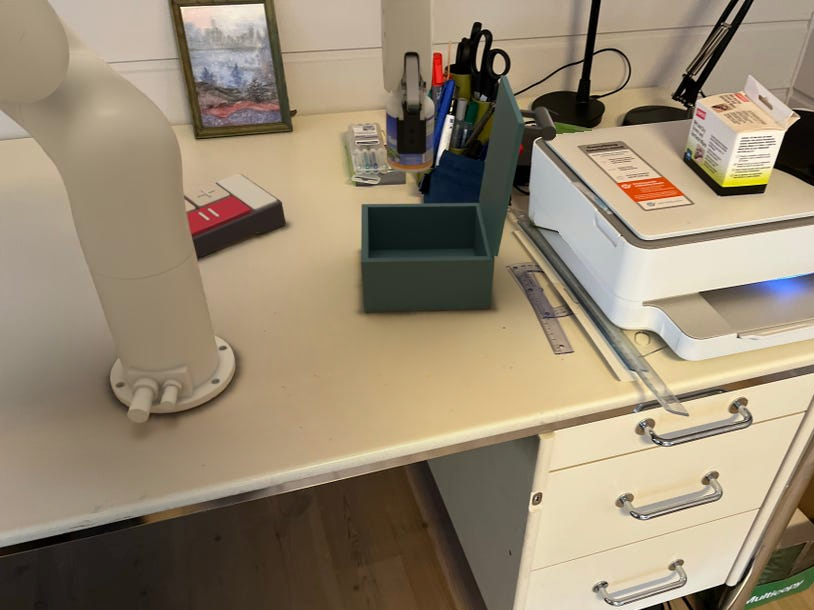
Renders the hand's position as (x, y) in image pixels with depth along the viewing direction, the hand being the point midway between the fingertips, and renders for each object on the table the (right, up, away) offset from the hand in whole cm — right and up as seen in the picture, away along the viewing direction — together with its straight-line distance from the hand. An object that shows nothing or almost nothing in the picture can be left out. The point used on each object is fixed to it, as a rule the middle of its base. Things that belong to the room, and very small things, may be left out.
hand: (410, 139), depth 85 cm
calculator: (-28, -7, +19) cm, 35 cm away
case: (+1, -15, +12) cm, 19 cm away
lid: (+10, -2, +3) cm, 11 cm away
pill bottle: (0, -2, +2) cm, 3 cm away
